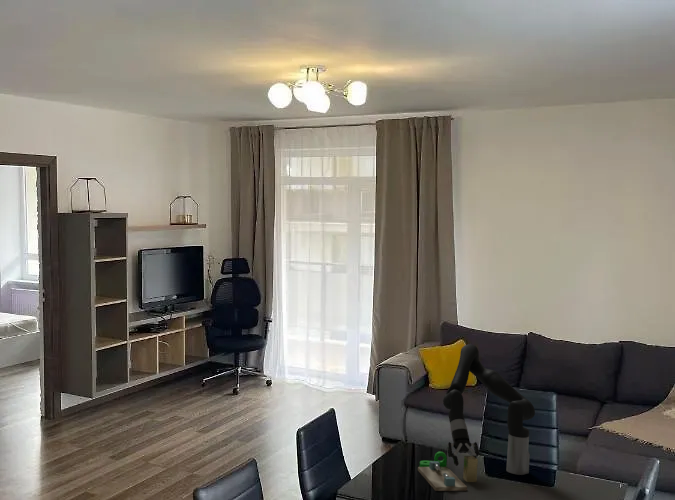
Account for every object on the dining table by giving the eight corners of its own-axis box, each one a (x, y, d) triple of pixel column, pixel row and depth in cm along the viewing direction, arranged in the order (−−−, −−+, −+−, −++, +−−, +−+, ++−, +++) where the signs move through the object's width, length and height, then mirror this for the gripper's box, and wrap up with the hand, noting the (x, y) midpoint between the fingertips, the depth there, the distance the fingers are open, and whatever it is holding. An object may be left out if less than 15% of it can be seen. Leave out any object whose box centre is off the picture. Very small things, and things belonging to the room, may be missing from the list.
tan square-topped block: (472, 478, 302) (473, 456, 302) (476, 481, 298) (477, 459, 298) (463, 478, 301) (464, 456, 301) (466, 482, 297) (468, 459, 297)
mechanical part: (444, 466, 317) (445, 449, 317) (446, 470, 311) (447, 453, 311) (419, 464, 318) (420, 447, 318) (420, 468, 312) (421, 451, 312)
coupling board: (446, 469, 311) (447, 460, 311) (466, 490, 287) (467, 479, 287) (417, 470, 309) (418, 460, 309) (435, 490, 284) (436, 480, 284)
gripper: (471, 435, 317) (478, 468, 306) (442, 435, 314) (448, 468, 304) (476, 427, 311) (484, 461, 301) (446, 427, 309) (453, 461, 298)
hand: (466, 465), depth 302 cm, fingers open, 8 cm apart
